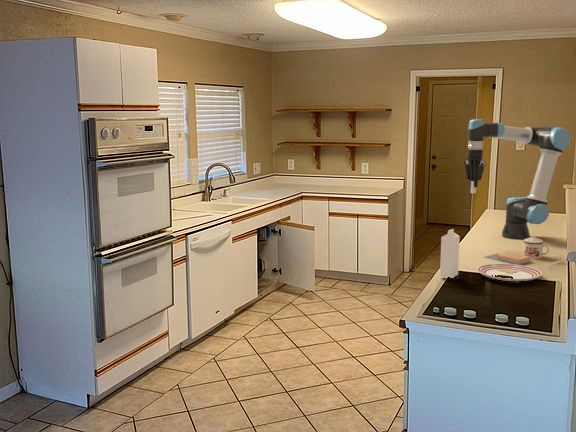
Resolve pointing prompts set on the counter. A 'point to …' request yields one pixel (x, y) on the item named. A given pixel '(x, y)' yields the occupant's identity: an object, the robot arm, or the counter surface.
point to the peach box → (513, 258)
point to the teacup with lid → (534, 248)
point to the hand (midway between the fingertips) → (473, 193)
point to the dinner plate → (521, 275)
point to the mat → (500, 260)
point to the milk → (449, 254)
